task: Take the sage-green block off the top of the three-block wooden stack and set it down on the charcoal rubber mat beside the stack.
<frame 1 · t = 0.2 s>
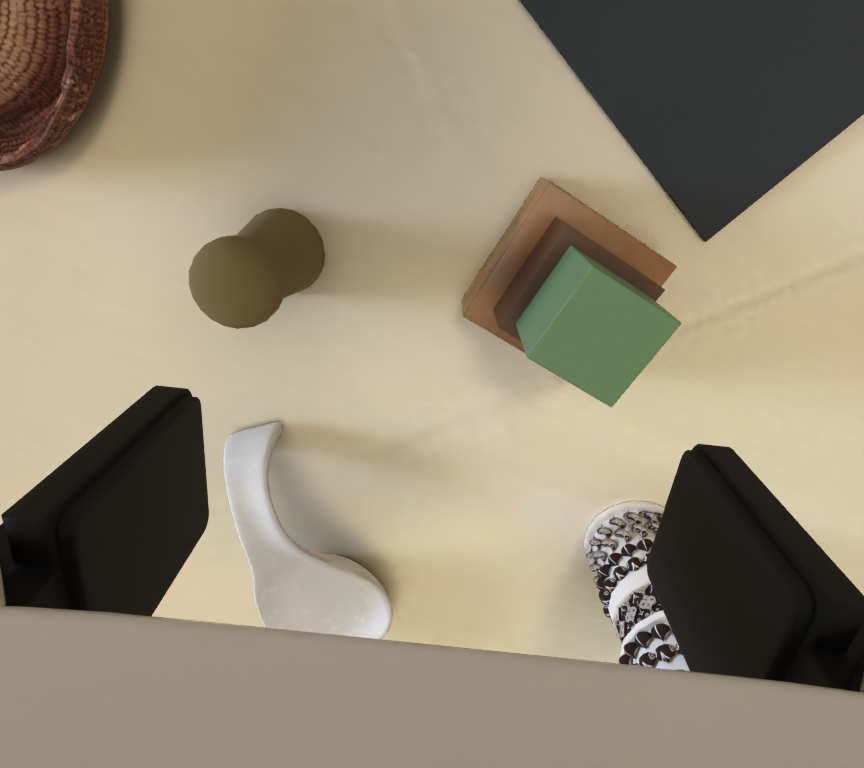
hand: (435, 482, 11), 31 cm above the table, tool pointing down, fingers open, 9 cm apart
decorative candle: (631, 538, 50), on the table
walnut block: (567, 291, 37), point 4 cm above the table, touching green block, oak block
spoon rest: (309, 533, 51), on the table
green block: (579, 309, 33), point 8 cm above the table, touching walnut block
oak block: (556, 277, 40), on the table, touching walnut block
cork: (284, 251, 40), on the table
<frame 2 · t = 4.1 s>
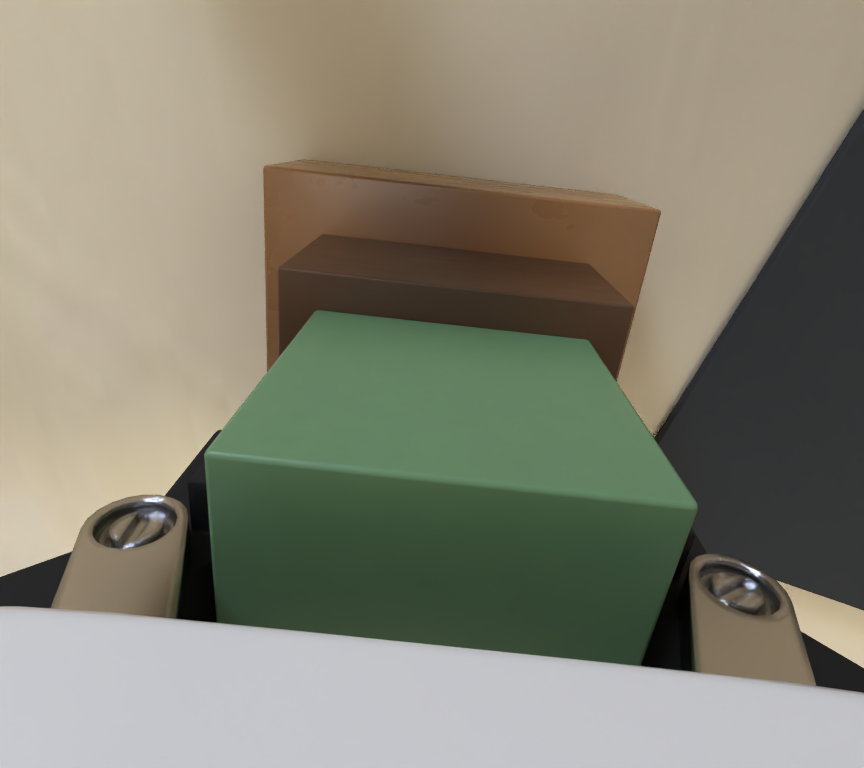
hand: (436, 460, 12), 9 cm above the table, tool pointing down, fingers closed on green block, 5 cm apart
walnut block: (441, 372, 16), point 4 cm above the table, touching green block, oak block
green block: (437, 443, 12), point 8 cm above the table, touching gripper, walnut block
oak block: (443, 328, 20), on the table, touching walnut block
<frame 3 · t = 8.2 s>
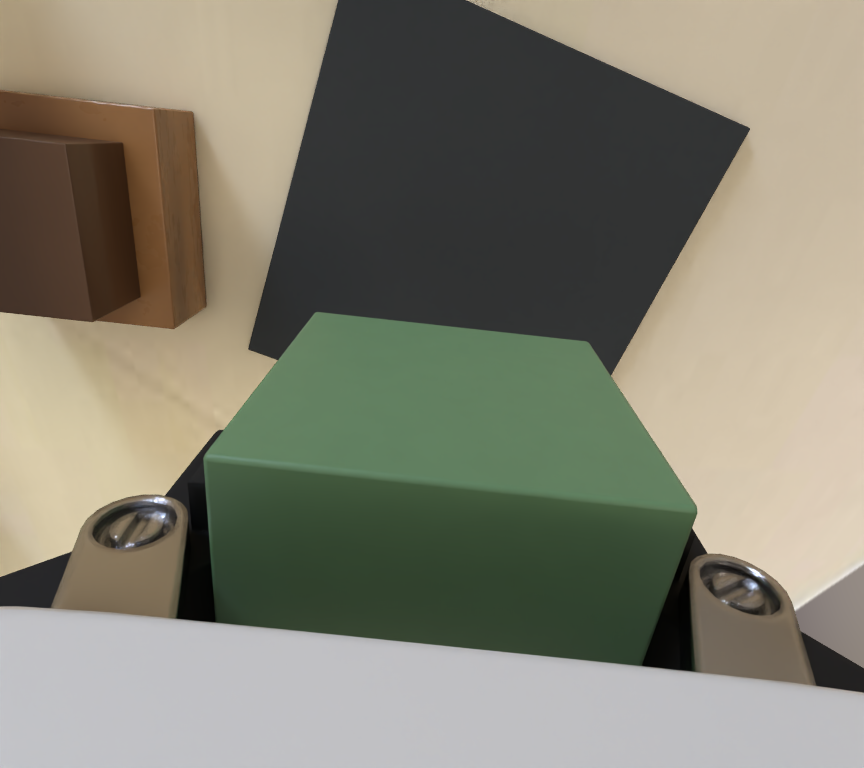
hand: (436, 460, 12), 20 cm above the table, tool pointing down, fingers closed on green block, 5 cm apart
mat: (475, 248, 30), on the table
walnut block: (57, 215, 26), point 4 cm above the table, touching oak block
green block: (437, 444, 12), point 20 cm above the table, touching gripper
oak block: (106, 205, 29), on the table, touching walnut block
when the fingers open (1 cm above the table, at t = 12.8 s): green block stays where it is, resting on mat.
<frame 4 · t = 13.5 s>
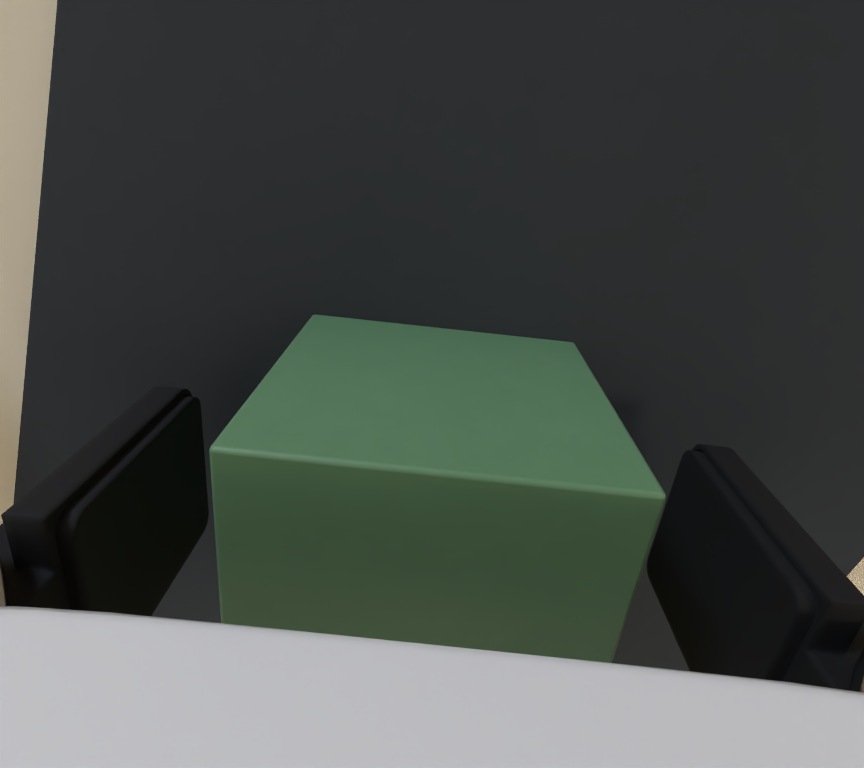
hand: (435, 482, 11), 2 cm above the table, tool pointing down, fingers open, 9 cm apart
mat: (491, 406, 13), on the table
green block: (430, 441, 13), resting on mat
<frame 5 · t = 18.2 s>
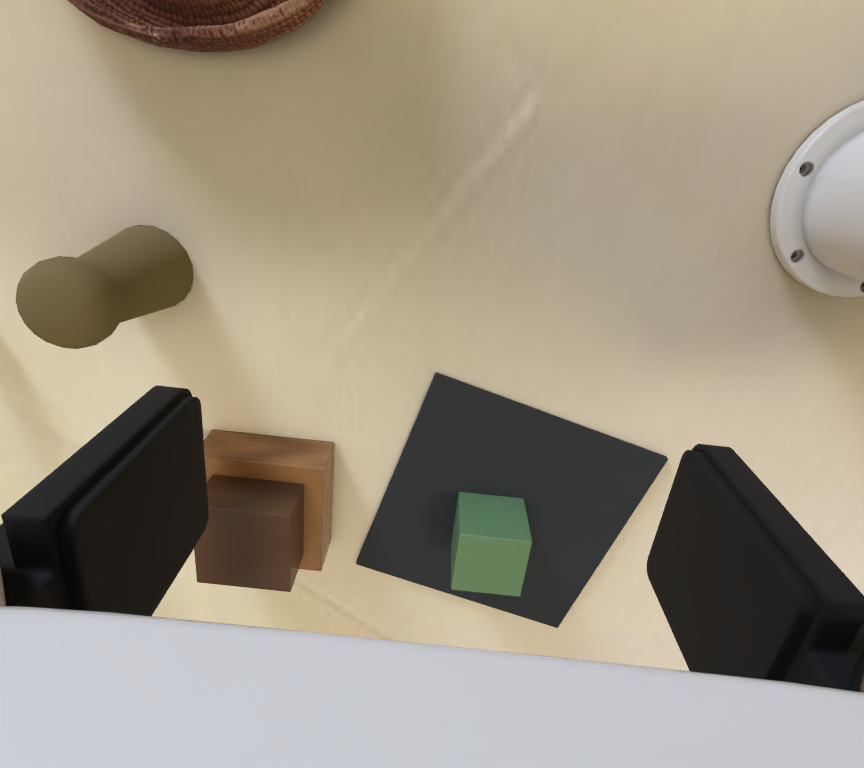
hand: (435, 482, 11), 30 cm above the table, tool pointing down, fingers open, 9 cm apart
mat: (502, 511, 48), on the table
walnut block: (259, 516, 44), point 4 cm above the table, touching oak block
green block: (486, 521, 48), resting on mat
oak block: (274, 486, 48), on the table, touching walnut block
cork: (152, 267, 40), on the table
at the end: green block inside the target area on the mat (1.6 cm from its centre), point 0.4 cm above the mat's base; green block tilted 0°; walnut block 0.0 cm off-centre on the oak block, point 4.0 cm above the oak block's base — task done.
